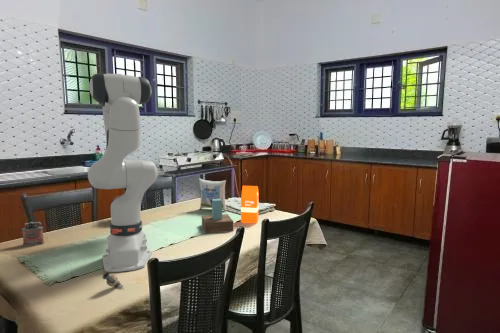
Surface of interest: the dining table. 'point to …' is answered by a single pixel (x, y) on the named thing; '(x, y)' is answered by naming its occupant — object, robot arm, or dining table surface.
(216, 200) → the teal block
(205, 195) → the pouch
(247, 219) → the orange juice
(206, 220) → the walnut base
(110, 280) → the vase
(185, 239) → the dining table surface
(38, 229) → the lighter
